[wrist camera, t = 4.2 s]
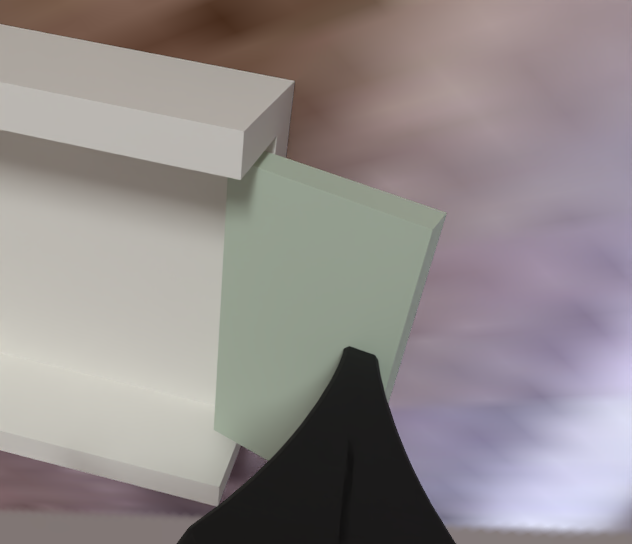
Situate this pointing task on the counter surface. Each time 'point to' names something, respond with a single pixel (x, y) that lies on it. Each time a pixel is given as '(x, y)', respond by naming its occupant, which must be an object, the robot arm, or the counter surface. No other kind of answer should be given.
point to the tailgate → (310, 291)
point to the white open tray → (120, 253)
